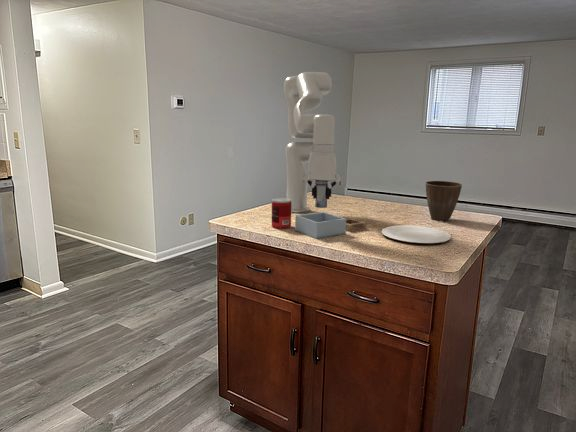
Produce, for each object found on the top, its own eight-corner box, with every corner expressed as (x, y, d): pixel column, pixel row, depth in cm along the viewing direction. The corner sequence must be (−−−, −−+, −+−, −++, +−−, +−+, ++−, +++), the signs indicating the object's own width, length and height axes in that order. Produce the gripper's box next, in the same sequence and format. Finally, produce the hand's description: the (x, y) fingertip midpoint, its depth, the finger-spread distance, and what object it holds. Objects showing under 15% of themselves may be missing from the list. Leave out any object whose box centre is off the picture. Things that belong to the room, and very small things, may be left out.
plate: (399, 225, 184) (399, 221, 183) (460, 237, 168) (460, 232, 168) (369, 237, 165) (369, 233, 164) (434, 251, 149) (435, 246, 149)
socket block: (334, 226, 179) (334, 220, 178) (351, 224, 183) (351, 218, 183) (348, 231, 171) (349, 225, 171) (366, 228, 176) (366, 222, 175)
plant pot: (458, 224, 186) (462, 187, 182) (421, 221, 190) (424, 184, 187) (457, 217, 200) (461, 182, 196) (423, 214, 204) (426, 180, 201)
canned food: (293, 225, 180) (294, 198, 177) (287, 229, 172) (287, 202, 170) (275, 223, 182) (276, 197, 180) (268, 227, 175) (268, 200, 172)
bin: (295, 230, 171) (295, 215, 170) (323, 226, 178) (323, 211, 177) (316, 239, 160) (316, 222, 159) (345, 234, 167) (346, 218, 166)
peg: (313, 207, 165) (314, 180, 163) (315, 205, 170) (316, 179, 168) (327, 208, 164) (328, 181, 162) (328, 206, 169) (329, 179, 167)
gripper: (298, 149, 160) (297, 198, 164) (345, 150, 157) (343, 201, 161) (302, 147, 167) (301, 195, 171) (347, 149, 164) (344, 197, 168)
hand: (321, 197), depth 166 cm, fingers closed on peg, 4 cm apart
